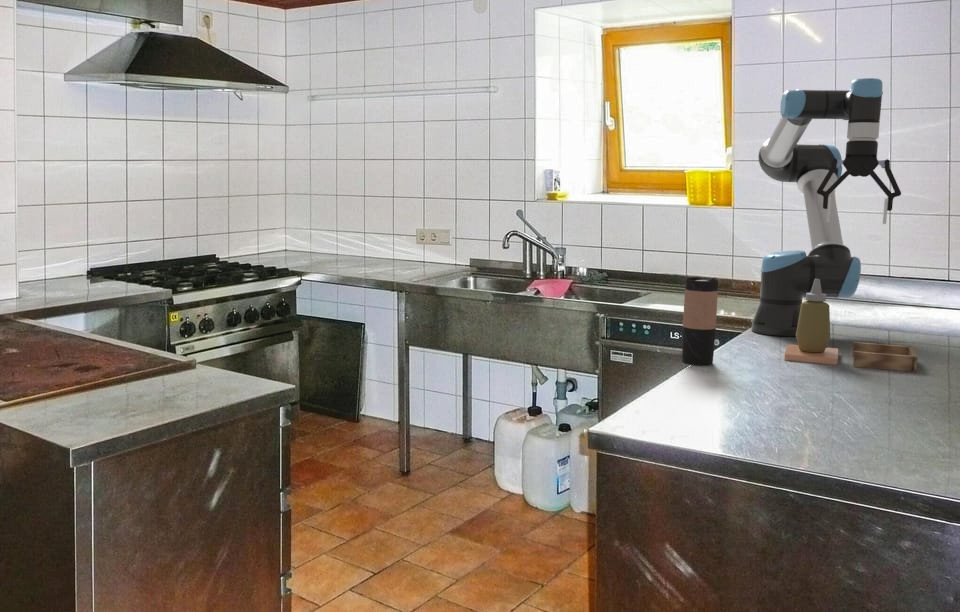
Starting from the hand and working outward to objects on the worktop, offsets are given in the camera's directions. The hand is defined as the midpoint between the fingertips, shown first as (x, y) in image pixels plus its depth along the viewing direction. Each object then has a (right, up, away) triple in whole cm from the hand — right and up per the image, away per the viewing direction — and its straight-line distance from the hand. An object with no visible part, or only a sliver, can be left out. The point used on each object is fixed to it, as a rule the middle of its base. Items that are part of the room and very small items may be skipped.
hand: (855, 222), depth 235 cm
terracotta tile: (-16, -34, -12) cm, 40 cm away
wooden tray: (-1, -36, -17) cm, 40 cm away
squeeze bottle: (-16, -33, -12) cm, 39 cm away
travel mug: (-47, -35, -21) cm, 62 cm away
